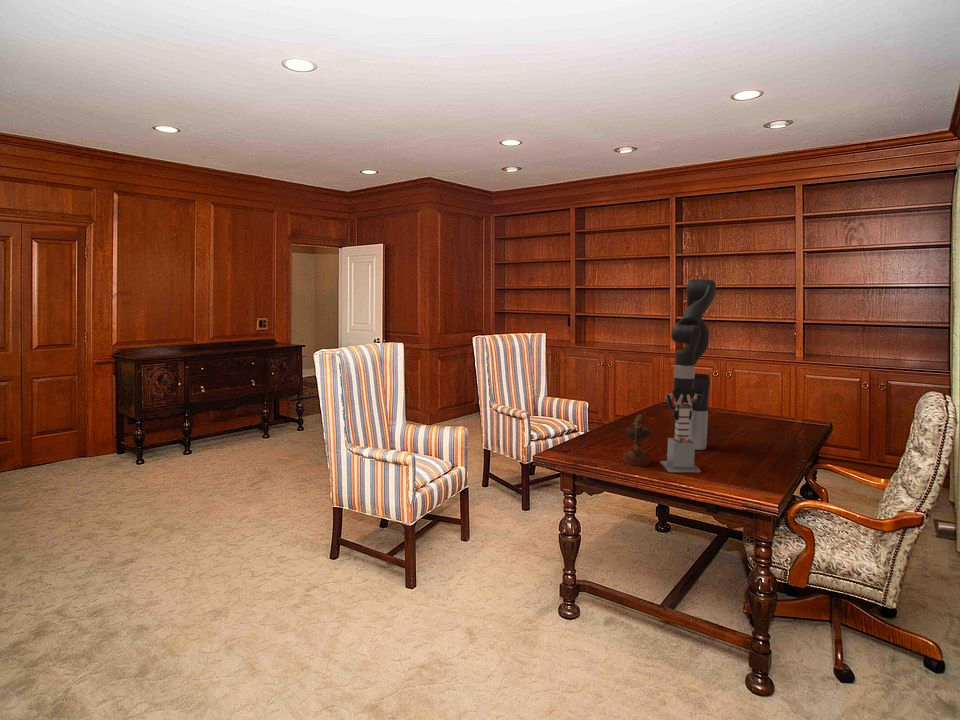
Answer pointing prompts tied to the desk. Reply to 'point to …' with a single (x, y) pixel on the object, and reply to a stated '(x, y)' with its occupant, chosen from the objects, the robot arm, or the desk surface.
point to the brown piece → (637, 444)
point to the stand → (680, 456)
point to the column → (682, 423)
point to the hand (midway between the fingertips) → (682, 419)
